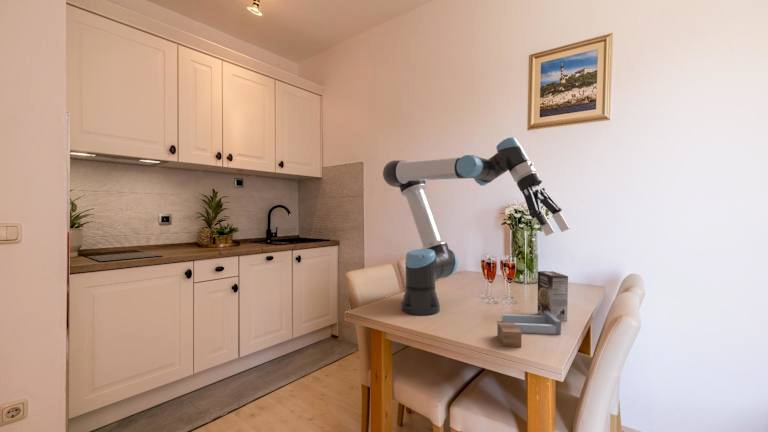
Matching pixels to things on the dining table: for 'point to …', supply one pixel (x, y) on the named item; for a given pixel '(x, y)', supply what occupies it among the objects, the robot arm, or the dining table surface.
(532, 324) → the guide
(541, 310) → the coffee box
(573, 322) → the dining table surface
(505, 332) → the brown block
